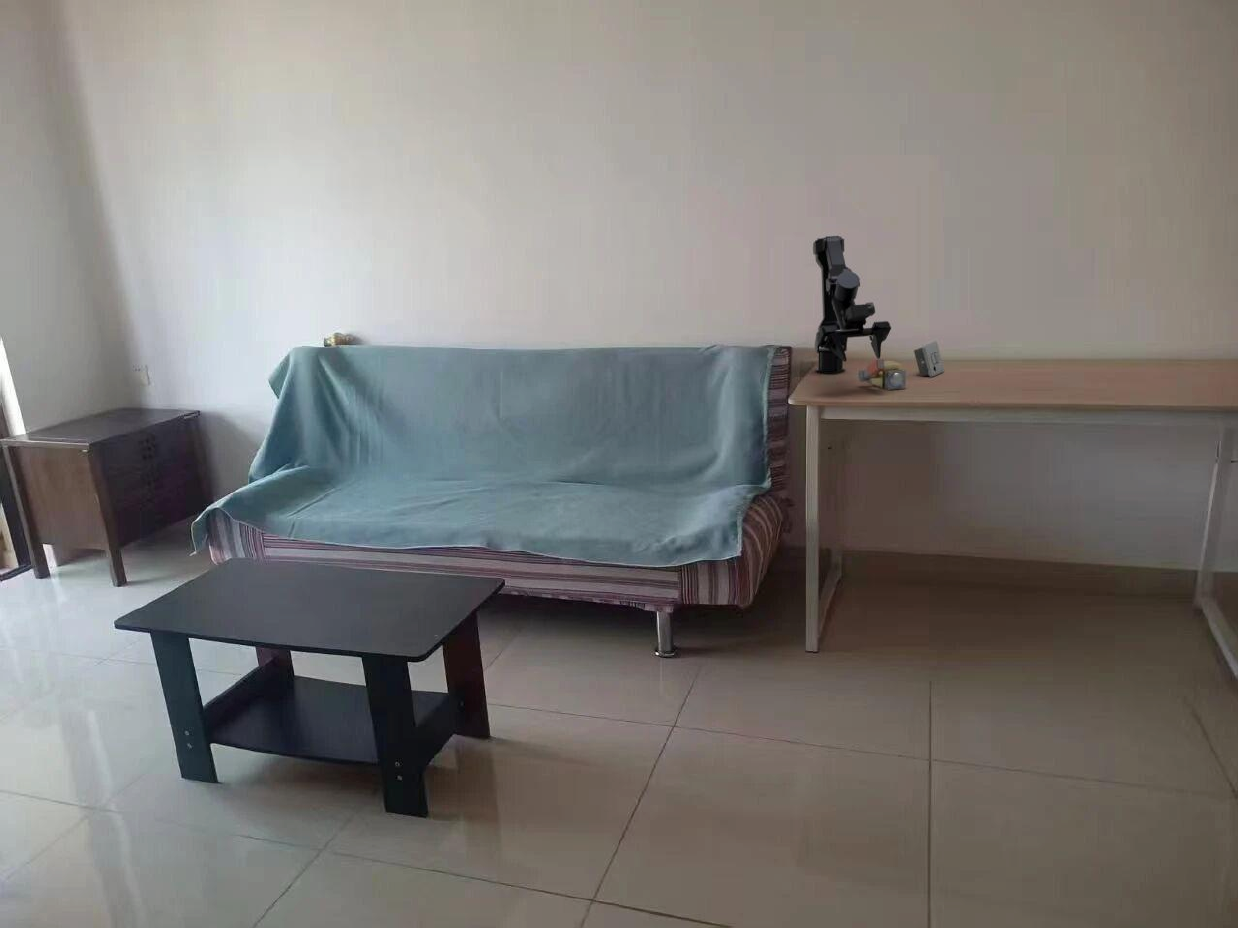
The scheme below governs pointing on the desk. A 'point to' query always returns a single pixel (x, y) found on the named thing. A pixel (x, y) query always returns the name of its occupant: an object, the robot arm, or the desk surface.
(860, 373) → the lever
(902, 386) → the valve
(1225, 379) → the desk surface
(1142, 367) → the desk surface
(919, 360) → the electrical switch
